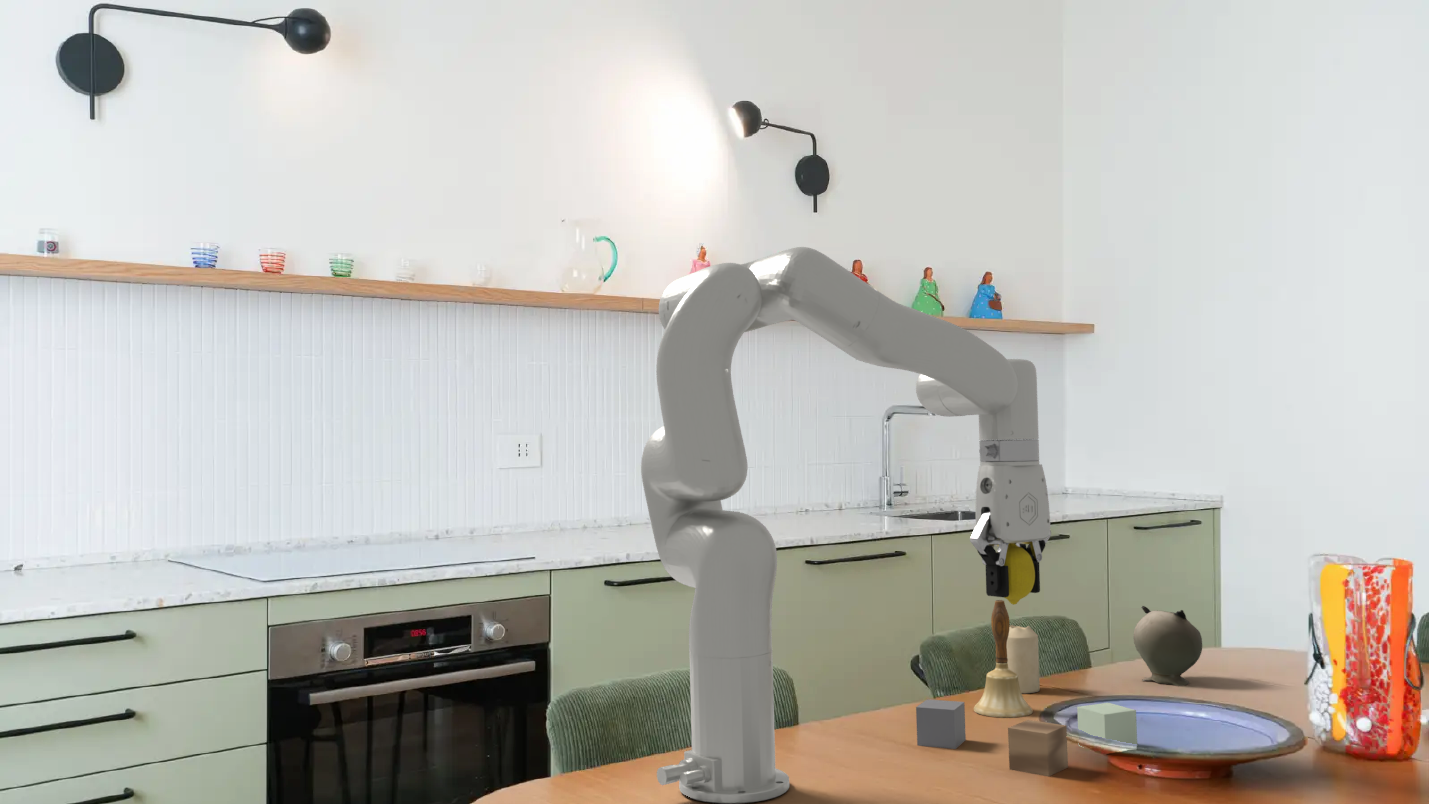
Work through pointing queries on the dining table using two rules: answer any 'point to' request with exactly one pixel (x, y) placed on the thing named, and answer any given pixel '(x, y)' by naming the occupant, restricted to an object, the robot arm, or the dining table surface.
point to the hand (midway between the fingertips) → (1013, 592)
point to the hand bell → (1002, 675)
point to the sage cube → (1108, 722)
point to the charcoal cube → (940, 723)
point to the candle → (1024, 657)
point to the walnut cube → (1038, 747)
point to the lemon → (1019, 573)
